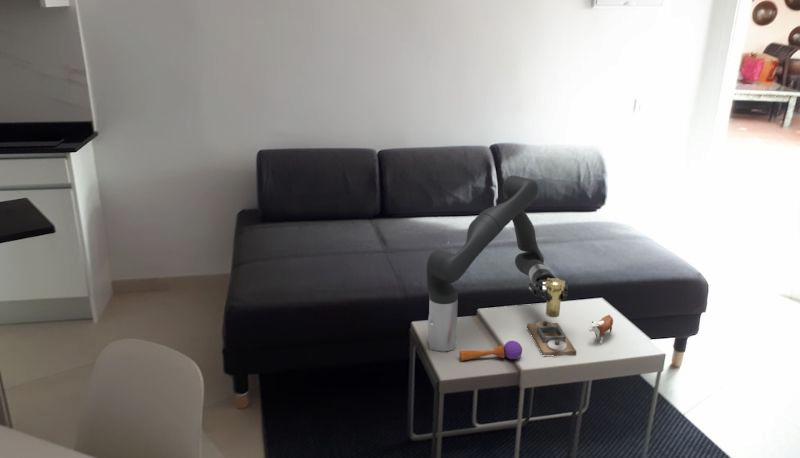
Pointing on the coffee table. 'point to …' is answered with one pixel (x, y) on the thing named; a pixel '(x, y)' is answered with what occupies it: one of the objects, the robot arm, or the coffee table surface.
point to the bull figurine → (602, 327)
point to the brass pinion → (554, 296)
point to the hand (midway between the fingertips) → (556, 298)
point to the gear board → (551, 339)
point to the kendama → (495, 352)
